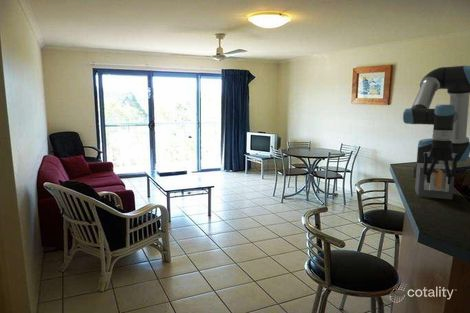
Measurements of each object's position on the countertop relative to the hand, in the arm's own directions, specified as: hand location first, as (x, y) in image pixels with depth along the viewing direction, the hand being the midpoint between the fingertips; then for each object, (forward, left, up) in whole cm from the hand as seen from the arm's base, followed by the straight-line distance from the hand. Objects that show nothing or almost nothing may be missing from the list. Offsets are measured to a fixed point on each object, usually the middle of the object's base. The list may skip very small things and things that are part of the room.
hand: (437, 190), depth 153 cm
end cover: (-5, -5, -1) cm, 7 cm away
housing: (-8, -8, -5) cm, 13 cm away
